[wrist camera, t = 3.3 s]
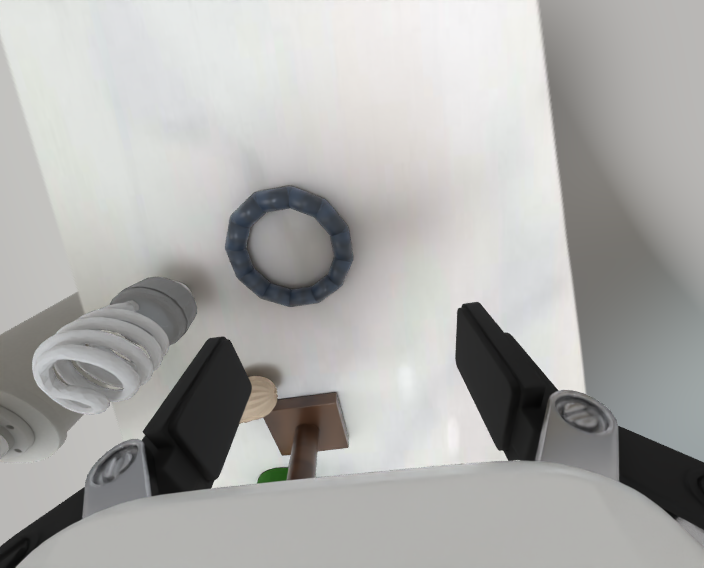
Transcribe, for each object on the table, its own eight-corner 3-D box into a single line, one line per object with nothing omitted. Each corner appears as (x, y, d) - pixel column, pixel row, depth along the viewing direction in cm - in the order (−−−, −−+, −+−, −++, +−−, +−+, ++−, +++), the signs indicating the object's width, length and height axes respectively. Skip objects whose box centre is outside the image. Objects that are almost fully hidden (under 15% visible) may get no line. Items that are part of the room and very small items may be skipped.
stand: (284, 444, 36) (263, 547, 27) (263, 401, 32) (231, 505, 23) (348, 436, 36) (350, 538, 27) (336, 391, 32) (333, 494, 22)
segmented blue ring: (254, 307, 26) (249, 316, 24) (211, 198, 21) (201, 202, 20) (359, 291, 25) (360, 300, 24) (340, 176, 20) (340, 178, 19)
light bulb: (136, 270, 24) (-32, 372, 13) (192, 253, 23) (63, 346, 12) (174, 319, 26) (58, 438, 16) (225, 305, 26) (141, 419, 15)
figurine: (170, 448, 31) (285, 425, 28) (134, 449, 27) (261, 422, 24) (181, 395, 34) (285, 370, 31) (150, 390, 30) (264, 360, 28)
